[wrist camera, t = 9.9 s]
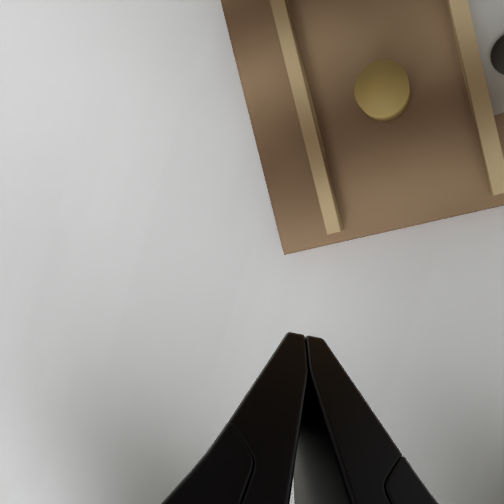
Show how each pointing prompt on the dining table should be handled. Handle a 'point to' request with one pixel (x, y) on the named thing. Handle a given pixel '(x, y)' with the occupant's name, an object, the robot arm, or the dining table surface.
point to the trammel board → (355, 145)
